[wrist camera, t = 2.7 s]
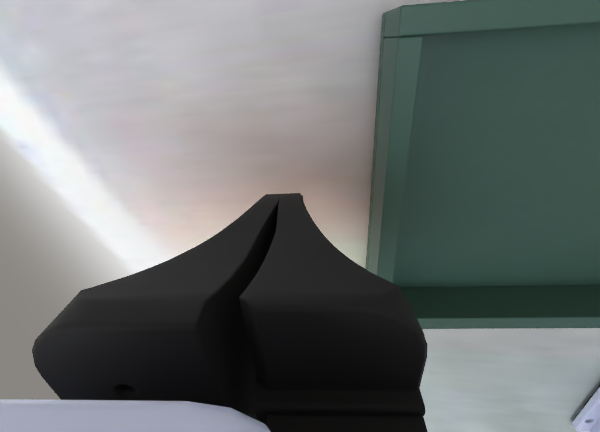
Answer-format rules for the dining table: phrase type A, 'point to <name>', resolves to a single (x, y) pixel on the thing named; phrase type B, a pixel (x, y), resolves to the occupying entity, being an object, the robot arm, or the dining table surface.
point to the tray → (489, 163)
